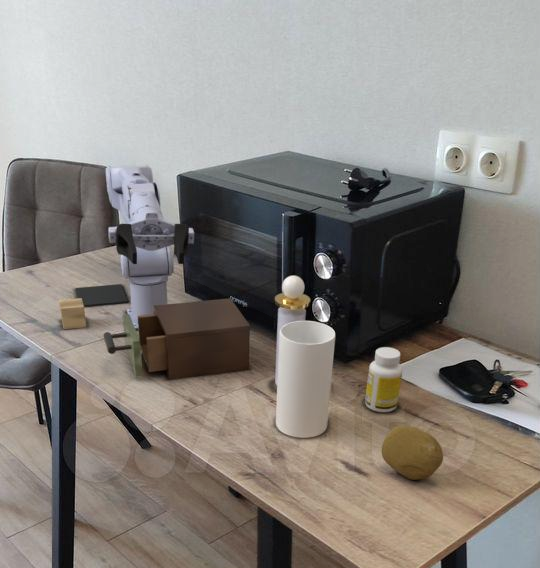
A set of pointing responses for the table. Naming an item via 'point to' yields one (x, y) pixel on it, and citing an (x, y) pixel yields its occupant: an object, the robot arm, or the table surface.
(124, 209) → the robot arm
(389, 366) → the supplement bottle
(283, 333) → the cup
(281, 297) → the perfume bottle
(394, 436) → the potato
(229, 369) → the cabinet
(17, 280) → the table surface
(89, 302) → the mat
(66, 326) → the block
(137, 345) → the drawer
